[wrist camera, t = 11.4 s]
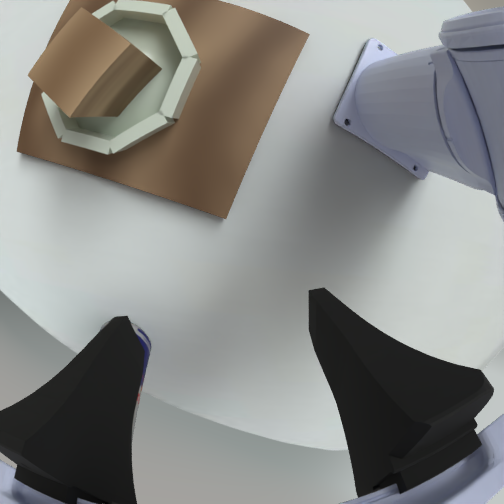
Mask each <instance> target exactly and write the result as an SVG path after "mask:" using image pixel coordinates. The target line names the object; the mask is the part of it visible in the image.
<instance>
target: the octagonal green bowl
mask: <svg viewBox="0 0 504 504" xmlns="http://www.w3.org/2000/svg"><path fill="white" fill-rule="evenodd" d="M92 15H94V16H95V17H97V18H98V19H100V20H101V21H102V22H104V23H105V24H107V25H108V26H109V27H111V28H112V29H113V30H115V31H116V32H117V33H119V34H120V35H121V36H123V37H124V38H125V39H127V40H128V41H129V42H130V43H132V44H133V45H134V46H135V47H137V48H138V49H139V50H140V51H142V52H143V53H144V54H145V55H146V56H148V57H149V58H150V59H151V60H152V61H154V62H155V63H156V64H157V65H158V66H159V67H161V68H162V70H161V71H160V72H159V73H158V74H157V75H156V76H155V77H154V78H153V79H152V80H151V81H150V82H149V83H148V84H147V85H146V86H145V87H144V88H143V89H142V90H141V91H140V92H139V93H138V95H137V96H136V97H135V98H134V99H133V100H132V101H131V102H130V103H129V105H128V106H127V107H126V108H125V109H124V110H123V112H122V113H121V114H120V115H119V116H118V117H71V118H69V117H68V116H67V115H66V114H65V113H64V112H63V111H62V110H61V109H60V108H59V107H58V106H57V105H56V104H55V103H54V102H53V101H52V100H51V99H50V98H49V97H48V96H47V95H46V94H45V93H44V92H43V93H42V94H41V95H42V98H43V101H44V104H45V107H46V109H47V112H48V115H49V117H50V120H51V123H52V125H53V128H54V130H55V133H56V135H57V137H58V138H62V140H61V142H65V143H69V144H72V145H76V146H80V147H83V148H87V149H90V150H94V151H97V152H101V153H104V154H107V155H108V154H111V153H113V154H114V153H117V152H120V151H123V150H127V149H128V148H130V147H132V146H134V145H135V144H137V143H139V142H140V141H142V140H144V139H146V138H148V137H149V136H151V135H153V134H155V133H157V132H159V131H161V130H162V129H164V128H166V127H168V126H170V125H172V124H174V123H175V121H174V119H173V118H176V119H179V118H180V115H181V113H182V110H183V108H184V105H185V103H186V101H187V98H188V96H189V94H190V91H191V89H192V87H193V85H194V82H195V80H196V78H197V76H198V74H199V71H200V69H201V66H200V63H201V61H200V58H199V56H198V54H197V51H196V49H195V47H194V45H193V43H192V41H191V39H190V37H189V35H188V33H187V31H186V29H185V27H184V25H183V23H182V21H181V19H180V17H179V15H178V13H177V11H176V9H175V8H172V6H171V5H167V4H161V3H154V2H146V1H137V0H118V1H117V3H115V2H114V1H112V2H110V3H108V4H107V5H105V6H103V7H102V8H100V9H99V10H97V11H95V12H94V13H92Z"/></svg>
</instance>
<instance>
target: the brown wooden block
mask: <svg viewBox="0 0 504 504" xmlns="http://www.w3.org/2000/svg"><path fill="white" fill-rule="evenodd" d="M161 70H162V68H161V67H159V66H158V65H157V64H156V63H155V62H154V61H152V60H151V59H150V58H149V57H148V56H146V55H145V54H144V53H143V52H142V51H140V50H139V49H138V48H137V47H135V46H134V45H133V44H132V43H130V42H129V41H128V40H127V39H125V38H124V37H123V36H121V35H120V34H119V33H117V32H116V31H115V30H113V29H112V28H111V27H109V26H108V25H107V24H105V23H104V22H102V21H101V20H100V19H98V18H97V17H95V16H94V15H92V14H91V13H89V12H88V11H87V10H85V9H84V8H82V7H81V8H80V9H79V10H78V11H77V12H76V13H75V14H74V16H73V17H72V18H71V19H70V20H69V21H68V22H67V23H66V25H65V26H64V27H63V28H62V29H61V30H60V32H59V33H58V34H57V35H56V36H55V38H54V39H53V40H52V41H51V43H50V44H49V45H48V47H47V48H46V49H45V51H44V52H43V53H42V55H41V56H40V58H39V59H38V60H37V62H36V63H35V65H34V66H33V68H32V69H31V71H30V72H29V74H28V76H29V77H30V78H31V79H32V80H33V81H34V82H35V83H36V84H37V85H38V86H39V87H40V88H41V89H42V91H43V92H44V93H45V94H46V95H47V96H48V97H49V98H50V99H51V100H52V101H53V102H54V103H55V104H56V105H57V106H58V107H59V108H60V109H61V110H62V111H63V112H64V113H65V114H66V115H67V116H68V117H69V118H71V117H118V116H119V115H120V114H121V113H122V112H123V110H124V109H125V108H126V107H127V106H128V105H129V103H130V102H131V101H132V100H133V99H134V98H135V97H136V96H137V95H138V93H139V92H140V91H141V90H142V89H143V88H144V87H145V86H146V85H147V84H148V83H149V82H150V81H151V80H152V79H153V78H154V77H155V76H156V75H157V74H158V73H159V72H160V71H161Z"/></svg>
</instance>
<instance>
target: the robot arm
mask: <svg viewBox="0 0 504 504" xmlns="http://www.w3.org/2000/svg"><path fill="white" fill-rule="evenodd" d="M441 30H442V31H441V32H440V33H439V35H438V36H439V38H440V40H441V42H442V43H443V45H440V46H435V47H430V48H425V49H420V50H416V51H412V52H408V53H404V54H400V55H397V54H396V53H395V52H394V51H392V50H391V49H389V48H388V47H387V46H385V45H384V44H383V43H381V42H380V41H378V40H377V39H375V38H371V39H368V41H367V43H366V45H365V47H364V49H363V52H362V54H361V56H360V58H359V61H358V63H357V65H356V68H355V70H354V72H353V74H352V76H351V79H350V81H349V83H348V85H347V88H346V90H345V92H344V94H343V96H342V99H341V101H340V103H339V105H338V107H337V110H336V112H335V114H334V117H333V120H334V122H335V124H337V125H338V126H340V127H342V128H343V129H345V130H347V131H349V132H350V133H352V134H354V135H355V136H357V137H359V138H360V139H362V140H364V141H365V142H367V143H368V144H370V145H372V146H373V147H375V148H376V149H378V150H379V151H381V152H382V153H384V154H385V155H387V156H388V157H390V158H391V159H393V160H394V161H395V162H397V163H398V164H400V165H401V166H403V167H404V168H405V169H407V170H408V171H409V172H411V173H412V174H413V175H415V176H416V177H417V178H419V179H421V180H424V179H425V178H426V176H427V174H428V172H429V171H431V172H434V173H437V174H439V175H442V176H444V177H447V178H449V179H452V180H454V181H457V182H459V183H462V184H464V185H466V186H469V187H471V188H474V189H477V190H485V191H487V192H489V193H491V194H493V195H495V197H496V204H497V208H498V211H499V214H500V216H501V218H502V219H503V221H504V7H497V8H491V9H486V10H480V11H476V12H471V13H467V14H464V15H460V16H457V17H453V18H450V19H448V20H445V21H443V24H442V28H441ZM377 45H378V46H379V47H380V48H381V50H379V49H378V47H377ZM345 119H347V120H348V121H349V124H348V125H347V126H346V125H345V123H344V121H345ZM414 165H415V169H414V170H413V167H414ZM309 332H310V336H311V339H312V343H313V346H314V350H315V353H316V355H317V357H318V360H319V362H320V364H321V367H322V369H323V372H324V374H325V376H326V379H327V381H328V383H329V386H330V388H331V390H332V393H333V395H334V398H335V401H336V403H337V407H338V410H339V414H340V417H341V421H342V425H343V429H344V433H345V437H346V441H347V445H348V449H349V454H350V459H351V463H352V468H353V474H354V480H355V487H356V492H357V495H358V498H356V499H353V500H350V501H346V502H343V503H339V504H486V503H487V502H488V501H489V500H490V499H491V498H492V497H493V496H494V495H495V494H497V493H498V492H499V491H500V490H501V489H502V488H503V487H504V414H502V415H501V416H500V417H499V418H497V419H496V420H495V421H494V422H492V423H491V424H490V425H488V426H487V427H486V428H485V429H483V430H482V431H481V432H480V433H479V434H476V432H475V430H474V429H475V428H476V427H477V423H476V421H475V419H474V418H475V417H476V416H477V414H478V413H479V412H480V411H481V410H482V409H483V408H484V406H485V405H486V404H487V403H488V401H489V400H490V398H491V397H492V395H493V392H494V388H493V387H492V385H491V384H490V382H489V381H488V380H487V378H486V377H485V375H484V374H483V373H482V371H481V370H479V369H474V368H470V367H465V366H461V365H457V364H453V363H450V362H447V361H444V360H440V359H437V358H435V357H432V356H429V355H427V354H424V353H422V352H420V351H418V350H415V349H413V348H411V347H409V346H407V345H405V344H403V343H401V342H399V341H397V340H395V339H394V338H392V337H390V336H388V335H387V334H385V333H383V332H382V331H380V330H379V329H377V328H376V327H374V326H373V325H371V324H370V323H368V322H367V321H365V320H364V319H363V318H361V317H360V316H359V315H357V314H356V313H355V312H353V311H352V310H351V309H350V308H348V307H347V306H346V305H345V304H343V303H342V302H341V301H340V300H339V299H337V298H336V297H335V296H334V295H333V294H331V293H330V292H329V291H328V290H326V289H325V288H319V289H314V290H309ZM144 356H145V350H144V348H143V346H142V344H141V343H140V341H139V339H138V337H137V335H136V333H135V331H134V329H133V327H132V325H131V323H130V320H129V318H128V316H120V317H114V318H113V319H112V320H111V321H110V322H109V323H108V324H107V325H106V326H105V327H104V328H103V329H102V330H101V331H100V332H99V333H98V334H97V335H96V336H95V337H94V338H93V339H92V340H91V341H90V342H89V343H88V345H87V346H86V347H85V348H84V349H83V350H82V351H81V352H80V353H79V354H78V355H77V356H76V357H75V358H74V359H73V360H72V361H71V362H70V363H69V364H68V365H67V366H66V367H65V368H64V369H63V370H61V371H60V372H59V373H58V374H57V375H56V376H55V377H53V378H52V379H51V380H50V381H49V382H47V383H46V384H45V385H43V386H42V387H41V388H39V389H38V390H36V391H35V392H34V393H32V394H31V395H29V396H27V397H26V398H24V399H23V400H21V401H19V402H17V403H16V404H14V405H12V406H10V407H8V408H6V409H3V410H2V411H0V452H1V453H2V454H4V455H5V456H6V457H8V458H9V459H10V460H12V461H13V462H15V463H16V464H17V468H16V469H15V468H13V467H12V466H10V465H8V464H7V463H5V462H3V461H2V460H0V504H137V501H136V496H135V489H134V483H133V473H132V425H133V418H134V412H135V407H136V403H137V398H138V393H139V389H140V384H141V379H142V375H143V368H144Z"/></svg>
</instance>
